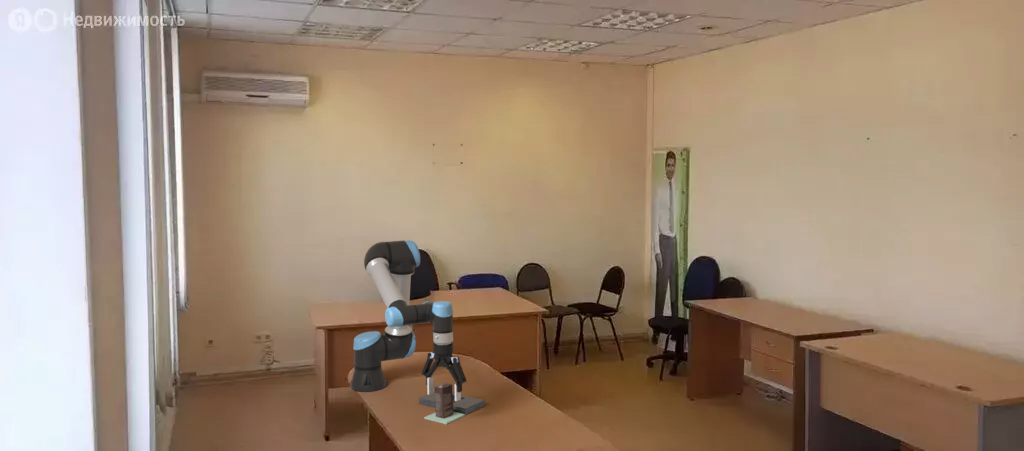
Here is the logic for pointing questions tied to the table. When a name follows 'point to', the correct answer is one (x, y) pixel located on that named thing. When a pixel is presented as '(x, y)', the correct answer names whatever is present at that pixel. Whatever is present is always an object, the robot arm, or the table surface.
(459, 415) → the pad
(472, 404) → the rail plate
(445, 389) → the box
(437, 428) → the table surface
